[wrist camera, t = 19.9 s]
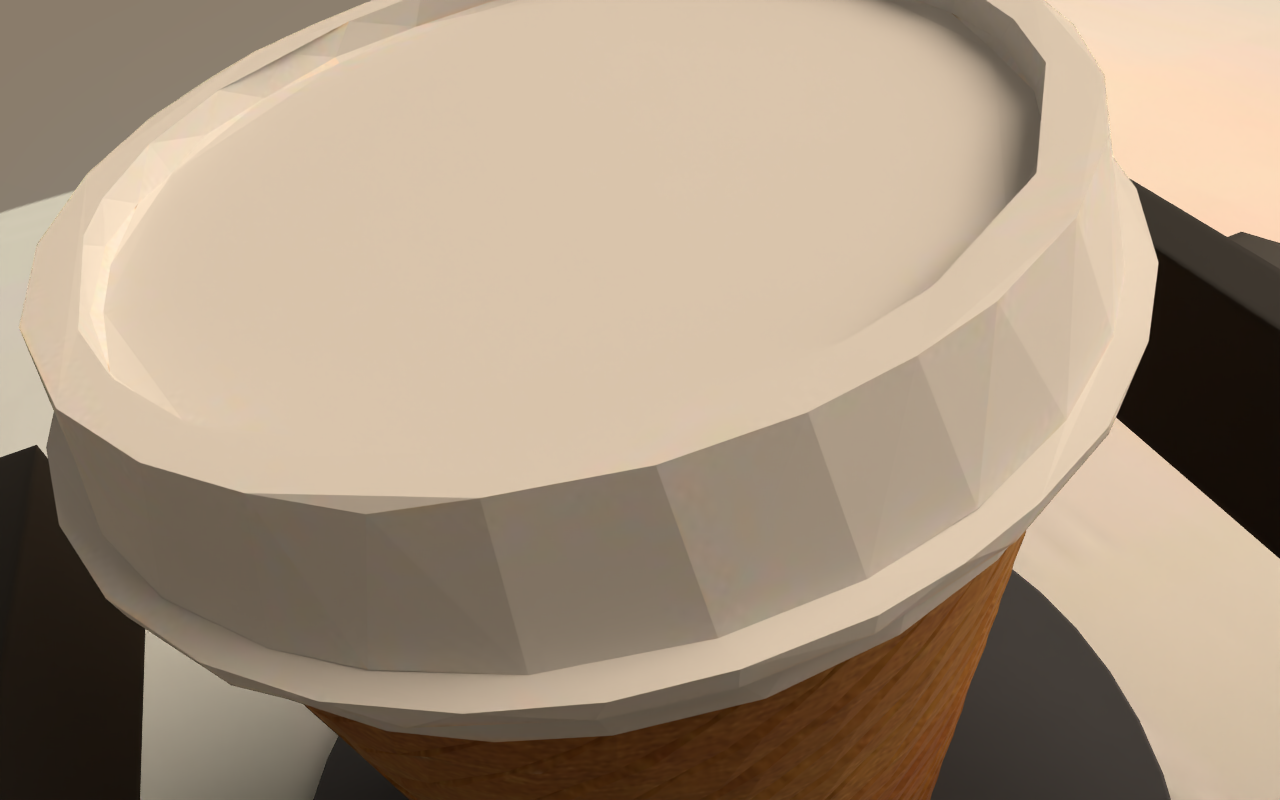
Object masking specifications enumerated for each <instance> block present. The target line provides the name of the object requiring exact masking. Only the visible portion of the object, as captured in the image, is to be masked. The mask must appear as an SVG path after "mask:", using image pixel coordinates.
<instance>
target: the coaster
mask: <svg viewBox="0 0 1280 800" xmlns="http://www.w3.org/2000/svg"><path fill="white" fill-rule="evenodd" d="M313 800H409V799H408V798H407V797H406V796H405V795H403V794H402V793H401V792H400V791H399V790H398V789H397V788H396V787H395V786H394V785H392V784H391V783H390V782H389V781H388V780H387V779H386V778H385V777H384V776H383V775H382V774H381V773H379V772H378V771H377V770H376V769H375V768H374V767H373V766H372V765H371V764H370V763H369V762H367V761H366V760H365V759H364V758H363V757H362V756H361V755H360V754H359V753H357V752H356V751H355V750H354V749H353V748H352V747H351V746H350V745H349V744H347V743H346V742H345V741H344V740H343V739H342V738H341V737H340V736H338V739H337V741H336V743H335V745H334V747H333V749H332V751H331V753H330V755H329V757H328V759H327V762H326V765H325V768H324V771H323V773H322V776H321V779H320V782H319V785H318V788H317V791H316V793H315V796H314V799H313ZM930 800H1171V799H1170V795H1169V792H1168V789H1167V785H1166V782H1165V779H1164V775H1163V773H1162V770H1161V768H1160V766H1159V764H1158V761H1157V759H1156V757H1155V755H1154V752H1153V750H1152V748H1151V746H1150V743H1149V741H1148V739H1147V737H1146V734H1145V732H1144V730H1143V728H1142V725H1141V723H1140V721H1139V719H1138V717H1137V716H1136V714H1135V712H1134V711H1133V709H1132V707H1131V706H1130V704H1129V702H1128V701H1127V699H1126V697H1125V696H1124V694H1123V692H1122V691H1121V689H1120V687H1119V686H1118V684H1117V682H1116V681H1115V679H1114V677H1113V676H1112V674H1111V672H1110V671H1109V670H1108V668H1107V667H1106V666H1105V664H1104V663H1103V662H1102V661H1101V659H1100V658H1099V657H1098V655H1097V654H1096V653H1095V652H1094V650H1093V649H1092V648H1091V647H1090V645H1089V644H1088V643H1087V641H1086V640H1085V639H1084V638H1083V636H1082V635H1081V634H1080V632H1079V631H1078V630H1077V629H1076V628H1075V627H1074V626H1073V625H1072V624H1071V623H1070V622H1069V620H1068V619H1067V618H1066V617H1065V616H1064V615H1063V614H1062V613H1061V612H1060V611H1059V610H1058V609H1057V608H1056V607H1055V606H1054V605H1053V604H1052V603H1051V602H1050V601H1049V600H1048V599H1047V598H1046V597H1045V596H1044V595H1043V594H1042V593H1041V592H1040V591H1039V590H1037V589H1036V588H1035V587H1034V586H1032V585H1031V584H1030V583H1029V582H1027V581H1026V580H1025V579H1024V578H1022V577H1021V576H1020V575H1019V574H1017V573H1016V572H1015V571H1014V570H1012V572H1011V576H1010V578H1009V581H1008V583H1007V585H1006V588H1005V590H1004V593H1003V595H1002V598H1001V600H1000V604H999V608H998V612H997V615H996V617H995V620H994V622H993V625H992V627H991V629H990V632H989V634H988V638H987V642H986V646H985V648H984V651H983V653H982V656H981V658H980V661H979V663H978V666H977V668H976V670H975V673H974V675H973V678H972V680H971V683H970V686H969V689H968V692H967V694H966V698H965V701H964V705H963V709H962V712H961V715H960V717H959V719H958V722H957V724H956V728H955V731H954V735H953V737H952V740H951V742H950V745H949V747H948V750H947V752H946V755H945V757H944V759H943V762H942V765H941V768H940V772H939V776H938V779H937V782H936V784H935V787H934V789H933V792H932V795H931V799H930Z"/></svg>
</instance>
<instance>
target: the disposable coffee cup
mask: <svg viewBox="0 0 1280 800" xmlns="http://www.w3.org/2000/svg"><path fill="white" fill-rule="evenodd" d="M1158 263H1159V262H1158V259H1157V256H1156V252H1155V249H1154V246H1153V242H1152V239H1151V236H1150V232H1149V229H1148V226H1147V222H1146V219H1145V216H1144V212H1143V209H1142V206H1141V202H1140V199H1139V196H1138V192H1137V189H1136V187H1135V186H1134V185H1133V183H1132V182H1131V181H1130V179H1129V178H1128V176H1127V175H1126V174H1125V172H1124V171H1123V170H1122V168H1121V167H1120V165H1119V164H1118V163H1117V161H1116V160H1115V159H1114V157H1113V152H1112V143H1111V133H1110V124H1109V114H1108V105H1107V95H1106V86H1105V76H1104V73H1103V72H1102V70H1101V68H1100V67H1099V65H1098V63H1097V62H1096V60H1095V59H1094V57H1093V55H1092V54H1091V52H1090V50H1089V49H1088V47H1087V45H1086V44H1085V42H1084V40H1083V39H1082V37H1081V35H1080V34H1079V32H1078V30H1077V29H1076V27H1075V26H1074V24H1073V23H1071V22H1070V21H1069V20H1068V19H1066V18H1065V17H1064V16H1063V15H1062V14H1060V13H1059V12H1058V11H1057V10H1056V9H1054V8H1053V7H1052V6H1051V5H1049V4H1048V3H1047V2H1046V1H1045V0H371V1H369V2H367V3H364V4H362V5H359V6H357V7H354V8H352V9H350V10H347V11H345V12H342V13H340V14H338V15H335V16H333V17H330V18H328V19H325V20H323V21H321V22H318V23H316V24H314V25H311V26H309V27H307V28H304V29H302V30H300V31H298V32H296V33H294V34H292V35H289V36H287V37H285V38H283V39H281V40H279V41H277V42H274V43H272V44H270V45H268V46H266V47H264V48H261V49H259V50H257V51H255V52H253V53H251V54H250V55H248V56H246V57H245V58H243V59H241V60H240V61H238V62H236V63H234V64H233V65H231V66H230V67H228V68H226V69H224V70H223V71H221V72H219V73H218V74H216V75H214V76H213V77H211V78H209V79H208V80H206V81H204V82H203V83H202V84H200V85H199V86H197V87H196V88H194V89H193V90H191V91H190V92H188V93H187V94H185V95H184V96H182V97H181V98H179V99H178V100H176V101H175V102H173V103H172V104H170V105H169V106H167V107H166V108H164V109H163V110H161V111H160V112H158V113H157V114H155V115H154V116H152V117H151V118H149V119H148V120H147V121H146V122H145V123H144V124H143V125H142V126H140V127H139V128H138V129H137V130H136V131H135V132H134V133H133V134H131V135H130V136H129V137H128V138H127V139H126V140H125V141H123V143H121V144H120V145H119V146H118V147H117V148H116V149H115V150H113V151H112V152H111V153H110V154H109V155H108V156H107V157H105V158H104V159H103V160H102V161H101V162H100V163H99V164H98V165H96V166H95V167H94V168H93V169H92V170H91V171H90V172H89V173H88V174H87V175H86V176H85V177H84V179H83V180H82V182H81V183H80V185H79V186H78V188H77V189H76V190H75V192H74V193H73V194H72V196H71V197H70V199H69V200H68V201H67V203H66V204H65V206H64V207H63V208H62V210H61V211H60V213H59V214H58V216H57V217H56V218H55V220H54V221H53V223H52V224H51V225H50V227H49V228H48V230H47V231H46V232H45V234H44V235H43V237H42V238H41V240H40V241H39V242H38V244H37V247H36V251H35V256H34V261H33V265H32V270H31V275H30V279H29V284H28V288H27V293H26V298H25V302H24V307H23V312H22V316H21V321H20V326H19V328H20V331H21V333H22V336H23V338H24V340H25V343H26V345H27V348H28V350H29V352H30V355H31V357H32V360H33V362H34V364H35V367H36V369H37V371H38V374H39V376H40V379H41V381H42V383H43V386H44V388H45V391H46V393H47V395H48V398H49V400H50V402H51V405H52V407H53V410H54V414H53V418H52V423H51V428H50V433H49V437H48V442H47V447H46V449H47V455H48V461H49V467H50V473H51V479H52V485H53V491H54V497H55V503H56V509H57V515H58V521H59V525H60V527H61V529H62V530H63V532H64V533H65V535H66V536H67V538H68V540H69V541H70V543H71V544H72V546H73V548H74V549H75V551H76V552H77V554H78V555H79V557H80V559H81V560H82V562H83V563H84V565H85V566H86V568H87V570H88V571H89V573H90V574H91V576H92V577H93V579H94V581H95V582H96V584H97V585H98V587H99V588H100V590H101V592H102V593H103V595H104V596H105V598H106V599H107V600H108V601H109V602H111V603H112V604H113V605H114V606H115V607H116V608H118V609H119V610H120V611H121V612H122V613H123V614H124V615H126V616H127V617H128V618H130V619H131V620H133V621H134V622H136V623H137V624H139V625H140V626H142V627H144V628H145V629H147V630H148V631H150V632H151V633H153V634H154V635H156V636H157V637H159V638H160V639H162V640H163V641H165V642H166V643H168V644H169V645H171V646H172V647H174V648H175V649H177V650H179V651H180V652H182V653H183V654H185V655H186V656H188V657H189V658H191V659H192V660H194V661H195V662H197V663H198V664H200V665H201V666H203V667H204V668H206V669H207V670H209V671H210V672H212V673H214V674H215V675H217V676H218V677H220V678H221V679H223V680H224V681H226V682H227V683H229V684H230V685H233V686H237V687H241V688H245V689H249V690H253V691H257V692H262V693H266V694H270V695H274V696H278V697H282V698H286V699H289V700H292V701H296V702H299V703H302V704H304V705H305V706H306V707H307V708H308V709H309V710H310V711H311V712H312V713H313V714H315V715H316V716H317V717H318V718H319V719H320V720H321V721H323V722H324V723H325V724H326V725H327V726H328V727H329V728H331V729H332V730H333V731H334V732H335V733H336V734H337V735H339V736H340V737H341V738H342V739H343V740H344V741H345V742H346V743H347V744H349V745H350V746H351V747H352V748H353V749H354V750H355V751H356V752H357V753H359V754H360V755H361V756H362V757H363V758H364V759H365V760H366V761H367V762H369V763H370V764H371V765H372V766H373V767H374V768H375V769H376V770H377V771H378V772H379V773H381V774H382V775H383V776H384V777H385V778H386V779H387V780H388V781H389V782H390V783H391V784H392V785H394V786H395V787H396V788H397V789H398V790H399V791H400V792H401V793H402V794H403V795H405V796H406V797H407V798H408V799H409V800H930V799H931V795H932V792H933V789H934V787H935V784H936V782H937V779H938V776H939V772H940V768H941V765H942V762H943V759H944V757H945V755H946V752H947V750H948V747H949V745H950V742H951V740H952V737H953V735H954V731H955V728H956V724H957V722H958V719H959V717H960V715H961V712H962V709H963V705H964V701H965V698H966V694H967V692H968V689H969V686H970V683H971V680H972V678H973V675H974V673H975V670H976V668H977V666H978V663H979V661H980V658H981V656H982V653H983V651H984V648H985V646H986V642H987V638H988V634H989V632H990V629H991V627H992V625H993V622H994V620H995V617H996V615H997V612H998V608H999V604H1000V600H1001V598H1002V595H1003V593H1004V590H1005V588H1006V585H1007V583H1008V581H1009V578H1010V576H1011V572H1012V568H1013V564H1014V561H1015V558H1016V556H1017V553H1018V551H1019V549H1020V546H1021V544H1022V541H1023V539H1024V536H1025V533H1026V529H1027V528H1028V527H1029V526H1030V525H1031V523H1032V522H1033V521H1034V520H1035V519H1036V518H1037V516H1038V515H1039V514H1040V513H1041V512H1042V511H1043V510H1044V508H1045V507H1046V506H1047V505H1048V504H1049V503H1050V501H1051V500H1052V499H1053V498H1054V497H1055V496H1056V494H1057V493H1058V492H1059V491H1060V490H1061V489H1062V488H1063V486H1064V485H1065V484H1066V483H1067V482H1068V481H1069V479H1070V478H1071V477H1072V476H1073V475H1074V474H1075V472H1076V471H1077V470H1078V469H1079V468H1080V467H1081V465H1082V464H1083V463H1084V462H1085V461H1086V460H1087V459H1088V457H1089V456H1090V455H1091V454H1092V453H1093V452H1094V450H1095V449H1096V448H1097V447H1098V446H1099V445H1100V443H1101V442H1102V441H1103V440H1104V439H1105V438H1106V436H1107V435H1108V434H1109V432H1110V430H1111V427H1112V425H1113V423H1114V420H1115V418H1116V416H1117V413H1118V411H1119V409H1120V407H1121V404H1122V402H1123V400H1124V397H1125V395H1126V393H1127V390H1128V388H1129V386H1130V383H1131V381H1132V379H1133V376H1134V374H1135V372H1136V369H1137V367H1138V365H1139V362H1140V360H1141V358H1142V356H1143V353H1144V351H1145V349H1146V346H1147V344H1148V342H1149V335H1150V327H1151V319H1152V311H1153V303H1154V295H1155V287H1156V279H1157V271H1158Z"/></svg>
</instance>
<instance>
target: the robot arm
mask: <svg viewBox="0 0 1280 800" xmlns="http://www.w3.org/2000/svg"><path fill="white" fill-rule="evenodd" d="M1130 181H1131V182H1132V183H1133V185H1134V186H1135V187H1136V189H1137V192H1138V196H1139V199H1140V202H1141V206H1142V209H1143V212H1144V216H1145V219H1146V222H1147V226H1148V229H1149V232H1150V236H1151V239H1152V242H1153V246H1154V249H1155V252H1156V256H1157V259H1158V262H1159V263H1158V271H1157V279H1156V287H1155V295H1154V303H1153V311H1152V319H1151V327H1150V335H1149V342H1148V344H1147V346H1146V349H1145V351H1144V353H1143V356H1142V358H1141V360H1140V362H1139V365H1138V367H1137V369H1136V372H1135V374H1134V376H1133V379H1132V381H1131V383H1130V386H1129V388H1128V390H1127V393H1126V395H1125V397H1124V400H1123V402H1122V404H1121V407H1120V409H1119V411H1118V413H1117V416H1116V418H1117V419H1119V420H1120V421H1121V422H1122V423H1123V424H1124V425H1126V426H1127V427H1128V428H1129V429H1130V430H1131V431H1133V432H1134V433H1135V434H1136V435H1137V436H1138V437H1139V438H1141V439H1142V440H1143V441H1144V442H1145V443H1146V444H1148V445H1149V446H1150V447H1151V448H1152V449H1153V450H1155V451H1156V452H1157V453H1158V454H1159V455H1160V456H1161V457H1163V458H1164V459H1165V460H1166V461H1167V462H1168V463H1170V464H1171V465H1172V466H1173V467H1174V468H1175V469H1177V470H1178V471H1179V472H1180V473H1181V474H1182V475H1183V476H1185V477H1186V478H1187V479H1188V480H1189V481H1190V482H1192V483H1193V484H1194V485H1195V486H1196V487H1197V488H1199V489H1200V490H1201V491H1202V492H1203V493H1204V494H1205V495H1207V496H1208V497H1209V498H1210V499H1211V500H1212V501H1214V502H1215V503H1216V504H1217V505H1218V506H1219V507H1221V508H1222V509H1223V510H1224V511H1225V512H1226V513H1227V514H1229V515H1230V516H1231V517H1232V518H1233V519H1234V520H1236V521H1237V522H1238V523H1239V524H1240V525H1241V526H1243V527H1244V528H1245V529H1246V530H1247V531H1248V532H1249V533H1251V534H1252V535H1253V536H1254V537H1255V538H1256V539H1258V540H1259V541H1260V542H1261V543H1262V544H1263V545H1265V546H1266V547H1267V548H1268V549H1269V550H1270V551H1271V552H1273V553H1274V554H1275V555H1276V556H1277V557H1278V558H1280V243H1277V242H1274V241H1271V240H1267V239H1264V238H1261V237H1257V236H1254V235H1251V234H1247V233H1244V232H1240V233H1237V234H1234V235H1232V236H1229V237H1226V236H1224V235H1223V234H1221V233H1219V232H1218V231H1216V230H1214V229H1213V228H1211V227H1209V226H1208V225H1206V224H1204V223H1203V222H1201V221H1199V220H1198V219H1196V218H1194V217H1193V216H1191V215H1189V214H1188V213H1186V212H1184V211H1183V210H1181V209H1179V208H1178V207H1176V206H1174V205H1173V204H1171V203H1169V202H1168V201H1166V200H1164V199H1163V198H1161V197H1159V196H1158V195H1156V194H1154V193H1153V192H1151V191H1149V190H1148V189H1146V188H1144V187H1143V186H1141V185H1139V184H1138V183H1136V182H1134V181H1133V180H1131V179H1130ZM144 652H145V628H144V627H142V626H140V625H139V624H137V623H136V622H134V621H133V620H131V619H130V618H128V617H127V616H126V615H124V614H123V613H122V612H121V611H120V610H119V609H118V608H116V607H115V606H114V605H113V604H112V603H111V602H109V601H108V600H107V599H106V598H105V596H104V595H103V593H102V592H101V590H100V588H99V587H98V585H97V584H96V582H95V581H94V579H93V577H92V576H91V574H90V573H89V571H88V570H87V568H86V566H85V565H84V563H83V562H82V560H81V559H80V557H79V555H78V554H77V552H76V551H75V549H74V548H73V546H72V544H71V543H70V541H69V540H68V538H67V536H66V535H65V533H64V532H63V530H62V529H61V527H60V525H59V521H58V515H57V509H56V503H55V497H54V491H53V485H52V479H51V473H50V467H49V461H48V458H47V457H46V456H45V455H44V453H43V452H42V451H41V450H40V448H39V447H38V446H37V445H35V446H32V447H29V448H26V449H23V450H21V451H18V452H15V453H12V454H9V455H6V456H3V457H0V800H140V784H141V751H142V718H143V685H144Z"/></svg>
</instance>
